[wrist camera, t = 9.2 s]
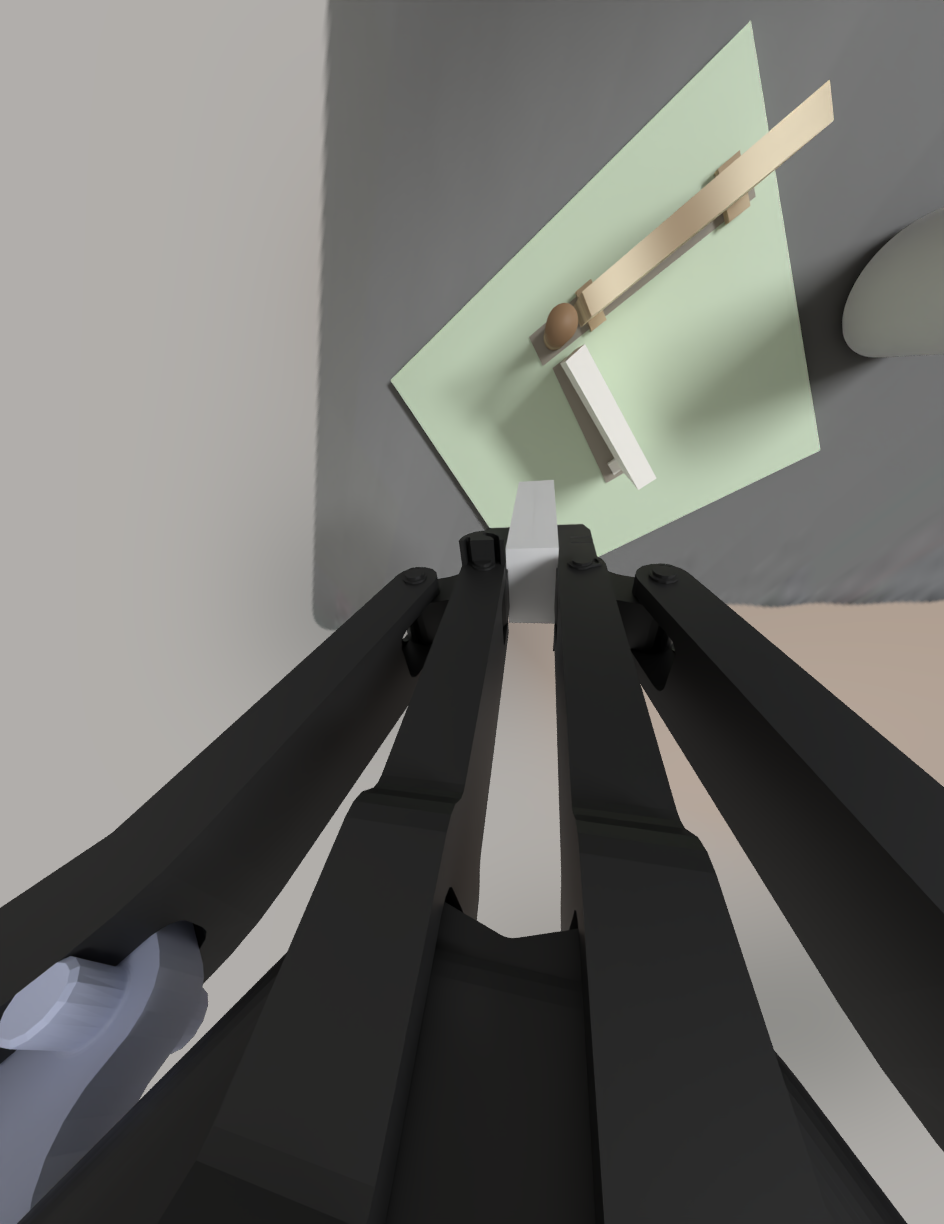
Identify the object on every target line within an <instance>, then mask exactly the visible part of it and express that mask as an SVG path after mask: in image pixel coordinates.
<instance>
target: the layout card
mask: <svg viewBox="0 0 944 1224" xmlns="http://www.w3.org/2000/svg"><path fill="white" fill-rule="evenodd" d="M768 132H769V130H768V124H767V117H766V111H765V105H764V99H763V93H762V87H761V80H760V74H759V68H758V62H757V56H756V50H755V43H754V37H753V31H752V25H751V21H750V22H749V23H748V24H747V25H746V26H745V27H744V28H743V29H742V30H741V31H740V32H739V33H738V34H737V35H736V36H735V37H734V38H733V39H732V40H731V41H730V42H729V43H728V44H727V45H726V46H725V47H724V48H723V49H722V50H721V51H720V52H719V53H718V54H717V55H716V56H715V57H714V58H713V59H712V60H711V61H710V62H709V63H708V64H707V65H706V66H705V67H704V68H703V69H702V70H701V71H700V72H699V73H698V74H697V75H696V76H695V77H694V78H693V79H692V80H691V81H690V82H689V83H688V84H687V85H686V86H685V87H684V88H683V89H682V90H681V91H680V92H679V93H678V94H677V95H676V96H675V97H674V98H673V99H672V100H671V101H670V102H669V103H668V104H667V105H666V106H665V107H664V108H663V109H662V110H661V111H660V112H659V113H658V114H657V115H656V116H655V117H654V118H653V119H652V120H651V121H650V122H649V123H648V124H647V125H646V126H645V127H644V128H643V129H642V130H641V131H640V132H639V133H638V134H637V135H636V136H635V137H634V138H633V139H632V140H631V141H630V142H629V143H628V144H627V145H626V146H625V147H624V148H623V149H622V150H621V151H620V152H619V153H618V154H617V155H616V156H615V157H614V158H613V159H612V160H611V161H610V162H609V163H608V164H607V165H606V166H605V167H604V168H603V169H602V170H601V171H600V172H599V173H598V174H597V175H596V176H595V177H594V178H593V179H592V180H591V181H590V182H589V183H588V184H587V185H586V186H585V187H584V188H583V189H582V190H581V191H580V192H579V193H578V194H577V195H576V196H575V197H574V198H573V199H572V200H571V201H570V202H569V203H568V204H567V205H566V206H565V207H564V208H563V209H562V210H561V211H560V212H559V213H558V214H557V215H556V216H555V217H554V218H553V219H552V220H551V221H550V222H548V223H547V224H546V225H545V226H544V227H543V228H542V229H541V230H540V231H539V232H538V233H537V234H536V235H535V236H534V237H533V238H532V239H531V240H530V241H529V242H528V243H527V244H526V245H525V246H524V247H523V248H522V249H521V250H520V251H519V252H518V253H517V254H516V255H515V256H514V257H513V258H512V259H511V260H510V261H509V262H508V263H507V264H506V265H505V266H504V267H503V268H502V269H501V270H500V271H499V272H498V273H497V274H496V275H495V276H494V277H493V278H492V279H491V280H490V281H489V282H488V283H487V284H486V285H485V286H484V287H483V288H482V289H481V290H480V291H479V292H478V293H477V294H476V295H475V296H474V297H473V298H472V299H471V300H470V301H469V302H468V303H467V304H466V305H465V306H464V307H463V308H462V309H461V310H460V311H459V312H458V313H457V314H456V315H455V316H454V317H453V318H452V319H451V320H450V321H449V322H448V323H447V324H446V325H445V326H444V327H443V328H442V329H441V330H440V331H439V332H438V333H437V334H436V335H435V336H434V337H433V338H432V339H431V340H430V341H429V342H428V343H427V344H426V345H425V346H424V347H423V348H422V349H421V350H420V351H419V352H418V353H417V354H416V355H415V356H414V357H413V358H412V359H411V360H410V361H409V362H408V363H407V364H406V365H405V366H404V367H403V368H402V369H401V370H400V371H399V372H398V373H397V374H396V375H395V376H394V377H393V378H392V379H391V382H392V383H393V385H394V386H395V388H396V389H397V391H398V392H399V394H400V395H401V397H402V398H403V400H404V401H405V403H406V404H407V405H408V407H409V408H410V410H411V411H412V413H413V414H414V416H415V417H416V419H417V420H418V422H419V423H420V425H421V426H422V428H423V429H424V431H425V432H426V434H427V435H428V437H429V438H430V440H431V441H432V443H433V444H434V446H435V447H436V449H437V450H438V452H439V453H440V455H441V456H442V458H443V459H444V461H445V462H446V464H447V465H448V467H449V468H450V470H451V471H452V473H453V474H454V475H455V477H456V478H457V480H458V481H459V483H460V484H461V486H462V487H463V489H464V490H465V492H466V493H467V495H468V496H469V498H470V499H471V501H472V502H473V504H474V505H475V507H476V508H477V510H478V511H479V513H480V514H481V516H482V517H483V519H484V520H485V522H486V523H487V525H488V526H489V528H505V527H510V524H511V519H512V514H513V509H514V504H515V499H516V494H517V489H518V484H519V482H524V481H541V480H554V489H555V503H556V516H557V525H567V524H583V525H585V526H586V527H587V528H589V529H590V531H591V535H592V539H593V543H594V546H595V550H596V554H597V557H599V556H601V555H603V554H605V553H607V552H609V551H611V550H614V549H616V548H618V547H620V546H622V545H624V544H626V543H628V542H630V541H632V540H634V539H636V538H639V537H641V536H643V535H645V534H647V533H649V532H651V531H653V530H655V529H657V528H659V527H661V526H664V525H666V524H668V523H670V522H672V521H674V520H676V519H678V518H680V517H682V516H684V515H687V514H689V513H691V512H693V511H695V510H697V509H699V508H701V507H703V506H705V505H707V504H709V503H712V502H714V501H716V500H718V499H720V498H722V497H724V496H726V495H728V494H730V493H732V492H734V491H737V490H739V489H741V488H743V487H745V486H747V485H749V484H751V483H753V482H755V481H757V480H759V479H762V478H764V477H766V476H768V475H770V474H772V473H774V472H776V471H778V470H780V469H782V468H784V467H787V466H789V465H791V464H793V463H795V462H797V461H799V460H801V459H803V458H805V457H807V456H810V455H812V454H814V453H816V452H818V451H820V445H819V438H818V432H817V426H816V420H815V414H814V408H813V401H812V395H811V389H810V383H809V377H808V371H807V364H806V358H805V352H804V346H803V340H802V334H801V327H800V321H799V315H798V309H797V303H796V296H795V290H794V284H793V278H792V272H791V266H790V259H789V253H788V247H787V241H786V235H785V229H784V222H783V216H782V210H781V204H780V198H779V192H778V185H777V179H776V173H775V170H774V171H773V172H772V173H771V174H770V175H768V176H767V177H766V178H765V179H764V180H763V181H761V182H760V183H759V184H758V185H757V186H755V187H754V188H753V189H752V190H750V191H749V192H748V195H749V200H750V207H748V208H747V209H746V210H745V211H743V212H742V213H741V214H740V215H738V216H737V217H736V218H735V219H733V220H732V221H731V222H729V223H728V224H727V225H725V221H724V216H723V213H722V214H721V215H719V216H718V217H717V218H716V219H714V220H713V221H712V222H711V223H709V224H708V225H707V226H706V227H705V228H703V229H702V230H701V231H700V232H698V233H697V234H696V235H695V236H693V237H692V238H691V239H690V240H688V241H687V242H686V243H685V244H684V245H682V246H681V247H680V248H679V249H677V250H676V251H675V252H674V253H672V254H671V255H670V256H669V257H667V258H666V259H665V260H664V261H662V262H661V263H660V264H659V265H658V266H656V267H655V268H654V269H653V270H651V271H650V272H649V273H648V274H646V275H645V276H644V277H643V278H641V279H640V280H639V281H638V282H636V283H635V284H634V285H633V286H632V287H630V288H629V289H628V290H627V291H625V292H624V293H623V294H622V295H620V296H619V297H618V298H617V299H615V300H614V301H613V302H612V303H611V304H609V305H608V306H607V307H606V308H604V309H603V312H604V314H605V317H606V319H607V320H606V321H604V322H603V323H602V324H600V325H599V326H598V327H597V328H595V329H594V330H593V331H592V332H591V331H590V329H589V326H588V324H587V323H586V324H585V325H583V326H582V327H580V325H579V322H578V326H577V329H576V332H575V333H574V335H573V337H572V338H571V339H570V340H569V341H568V342H567V343H565V344H564V345H563V346H562V347H561V348H560V349H558V350H555V351H553V350H550V349H548V348H547V347H546V346H545V343H544V331H545V326H546V322H547V318H548V315H549V313H550V312H551V310H552V309H553V308H554V307H555V306H557V305H558V304H561V303H569V304H571V305H572V306H574V305H575V303H576V301H577V300H578V299H577V297H576V294H575V292H576V291H577V290H578V289H579V288H580V287H582V286H583V285H584V284H585V283H586V282H587V281H589V280H590V279H591V280H592V283H593V282H594V281H595V280H596V279H597V278H599V277H600V276H601V275H602V274H603V273H604V272H606V271H607V270H608V269H609V268H610V267H611V266H613V265H614V264H615V263H616V262H617V261H618V260H620V259H621V258H622V257H623V256H624V255H625V254H627V253H628V252H629V251H630V250H631V249H632V248H634V247H635V246H636V245H637V244H638V243H639V242H641V241H642V240H643V239H644V238H645V237H646V236H648V235H649V234H650V233H651V232H652V231H653V230H655V229H656V228H657V227H658V226H659V225H660V224H662V223H663V222H664V221H665V220H666V219H667V218H669V217H670V216H671V215H672V214H673V213H674V212H676V211H677V210H678V209H679V208H680V207H681V206H683V205H684V204H685V203H686V202H687V201H688V200H690V199H691V198H692V197H693V196H694V195H695V194H697V193H698V192H699V191H700V190H701V189H702V188H704V187H705V186H706V185H707V184H708V183H709V182H711V181H712V180H713V179H714V178H715V176H714V173H715V171H716V170H717V169H718V168H719V167H721V166H722V165H723V164H724V163H725V162H726V161H727V160H729V159H730V158H731V157H732V156H733V155H734V154H736V153H737V152H738V151H739V150H740V154H741V155H742V154H743V153H745V152H746V151H747V150H748V149H749V148H750V147H752V146H753V145H754V144H755V143H756V142H757V141H759V140H760V139H761V138H762V137H763V136H764V135H766V134H767V133H768ZM584 344H585V345H586V347H587V349H588V351H589V352H590V354H591V356H592V358H593V360H594V362H595V364H596V366H597V367H598V369H599V371H600V373H601V375H602V377H603V379H604V381H605V382H606V384H607V386H608V388H609V390H610V392H611V394H612V396H613V397H614V399H615V401H616V403H617V405H618V407H619V409H620V411H621V412H622V414H623V416H624V418H625V420H626V422H627V424H628V426H629V427H630V429H631V431H632V433H633V435H634V437H635V439H636V441H637V442H638V444H639V446H640V448H641V450H642V452H643V454H644V456H645V457H646V459H647V461H648V463H649V465H650V467H651V469H652V471H653V472H654V474H655V476H656V479H655V480H653V481H652V482H650V483H649V484H647V485H645V486H644V487H642V488H641V489H639V490H638V489H637V488H636V487H635V486H634V484H633V483H632V482H631V481H630V480H629V479H628V477H627V476H626V475H625V474H624V473H623V472H622V470H621V471H619V472H618V473H616V474H615V475H614V474H613V473H612V471H611V469H610V467H609V466H608V464H607V463H608V462H610V461H611V460H613V459H614V457H613V455H612V453H611V451H610V450H609V448H608V446H607V444H606V443H605V441H604V439H603V437H602V436H601V434H600V432H599V430H598V429H597V427H596V425H595V423H594V422H593V420H592V418H591V416H590V415H589V413H588V411H587V409H586V408H585V406H584V404H583V403H582V401H581V399H580V397H579V396H578V394H577V392H576V390H575V389H574V387H573V385H572V383H571V382H570V380H569V378H568V376H567V375H566V373H565V371H564V369H563V368H562V366H561V364H560V363H561V362H562V361H563V360H564V359H565V358H566V357H568V356H569V355H570V354H571V353H572V352H573V351H574V350H575V349H577V348H578V347H580V346H582V345H584Z"/></svg>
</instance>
